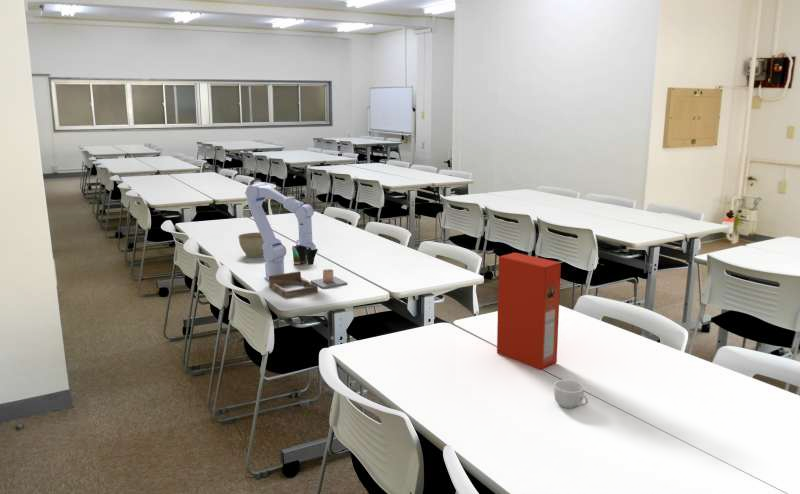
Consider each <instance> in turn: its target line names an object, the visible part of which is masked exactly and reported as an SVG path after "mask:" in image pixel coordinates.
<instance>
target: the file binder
mask: <svg viewBox="0 0 800 494" xmlns="http://www.w3.org/2000/svg"><path fill="white" fill-rule="evenodd" d="M561 268H562V263H561V262H559V261H555V260H551V259H546V258H542V257H537V256H533V255H529V254H524V253H519V252H512V253H508V254H504V255H500V256H498V271H497V272H498V277H497V279H498V281H497V286H498V287H497V323H496V324H497V327H496V328H497V331H496V332H497V333H496V334H497V335H496V336H497V337H496V338H497V340H496V354H498V355H500V356H503V357H506V358H508V359H510V360H513V361H515V362H517V363H522V364H525V365H527V366H529V367H533V368H534V369H537V370H540V371H543V370H545V369H547V368H550V367H551V366H554V365H556V363H557V362H558V342H559V341H558V339H559V315H560V314H559V313H560V296H561V295H560V294H561V274H562V273H561V271H562V270H561Z"/></svg>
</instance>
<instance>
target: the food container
mask: <svg viewBox="0 0 800 494" xmlns="http://www.w3.org/2000/svg"><path fill="white" fill-rule="evenodd" d="M295 246H298V245H297V244H296V245H292V247H291V251H292V256H293V266H304V265H308V261H307V256H306V259H305V261H302V262H301V261H300V258H299V255H298V252H297V250H296V248H295ZM307 249H308V248H307Z"/></svg>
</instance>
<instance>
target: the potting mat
mask: <svg viewBox="0 0 800 494" xmlns="http://www.w3.org/2000/svg"><path fill="white" fill-rule="evenodd" d="M310 282H311V283H312V284H314V285H316V286H318V287H319V288H320V289H322V290H323V289H328V288H334V287H340V286H344V285H345V286H346V285H348V282H347V281H345V280H343V279H341V278H339V277H337V276H334V275H333V282H332V283H324V282H323V278H317V279H312V280H310Z"/></svg>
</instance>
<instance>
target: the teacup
mask: <svg viewBox="0 0 800 494" xmlns="http://www.w3.org/2000/svg"><path fill="white" fill-rule="evenodd" d="M553 393H554V394H553V395H554V400H555V402H556V403H557V404H558V405H559V406H561V407H562V408H565V409H575V408H578V407H579V406H586V405H588V404H589V399H588V397H587V396H586V395H584V393H585V385H583V384H582V383H581V382H579V381H576V380H572V379H560V380H559V379H558V380H556V381H555V382H554V383H553ZM583 400H585V403H583Z"/></svg>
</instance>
